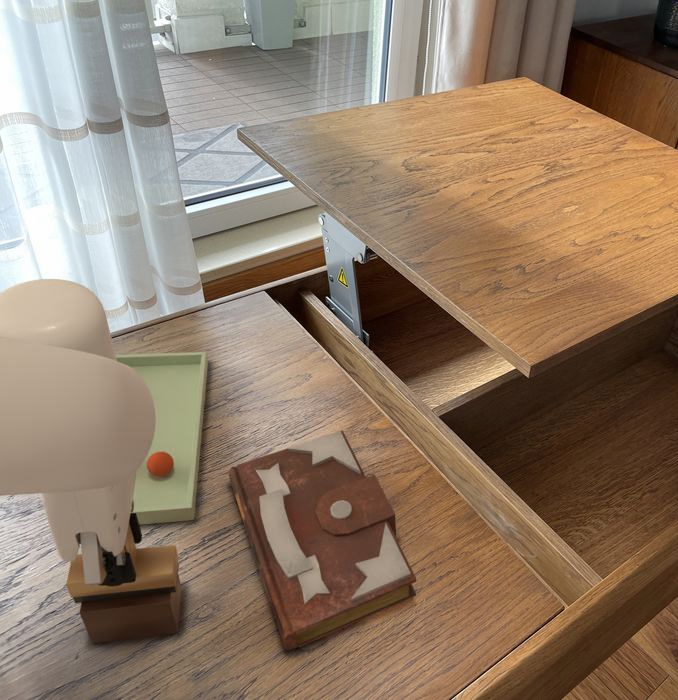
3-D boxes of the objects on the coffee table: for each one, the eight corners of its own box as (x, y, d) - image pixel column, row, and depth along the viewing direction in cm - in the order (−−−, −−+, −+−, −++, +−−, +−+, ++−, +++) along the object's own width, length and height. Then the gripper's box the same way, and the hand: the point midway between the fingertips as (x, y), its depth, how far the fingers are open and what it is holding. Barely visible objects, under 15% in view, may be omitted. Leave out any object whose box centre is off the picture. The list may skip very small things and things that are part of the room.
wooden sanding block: (177, 593, 70) (163, 536, 64) (73, 604, 68) (49, 546, 61) (180, 564, 72) (167, 506, 66) (80, 574, 70) (57, 516, 64)
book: (232, 489, 88) (225, 464, 85) (351, 448, 94) (349, 423, 90) (287, 656, 73) (281, 633, 70) (424, 595, 79) (425, 572, 76)
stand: (177, 633, 73) (169, 602, 69) (92, 644, 71) (78, 612, 67) (182, 589, 76) (174, 557, 73) (100, 598, 75) (88, 566, 71)
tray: (194, 520, 83) (191, 507, 82) (69, 531, 80) (64, 518, 78) (208, 364, 103) (206, 351, 101) (108, 368, 100) (104, 355, 98)
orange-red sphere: (174, 480, 86) (170, 464, 84) (147, 482, 85) (143, 466, 84) (176, 461, 88) (173, 445, 86) (150, 463, 88) (146, 447, 86)
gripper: (48, 359, 61) (93, 494, 72) (-6, 520, 49) (58, 651, 60) (144, 355, 62) (172, 488, 74) (114, 510, 50) (154, 639, 62)
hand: (121, 560), depth 67 cm, fingers open, 3 cm apart
